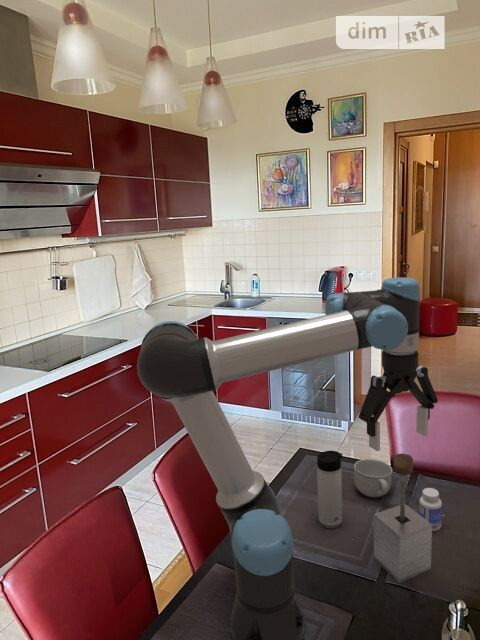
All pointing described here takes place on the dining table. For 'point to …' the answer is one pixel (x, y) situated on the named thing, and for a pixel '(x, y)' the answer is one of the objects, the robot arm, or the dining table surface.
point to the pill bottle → (431, 507)
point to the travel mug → (329, 489)
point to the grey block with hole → (402, 543)
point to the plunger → (403, 478)
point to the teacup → (372, 477)
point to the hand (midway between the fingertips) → (398, 441)
